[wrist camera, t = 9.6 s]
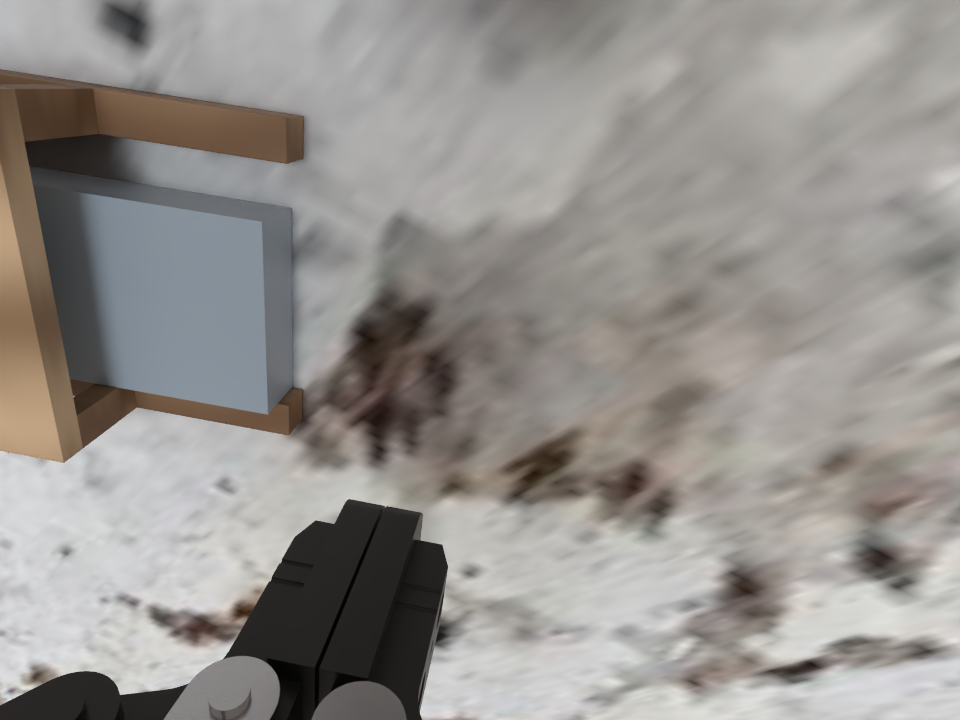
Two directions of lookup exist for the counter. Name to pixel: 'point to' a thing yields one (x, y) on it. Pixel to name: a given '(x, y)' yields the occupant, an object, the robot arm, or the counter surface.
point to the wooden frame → (24, 268)
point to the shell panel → (170, 289)
